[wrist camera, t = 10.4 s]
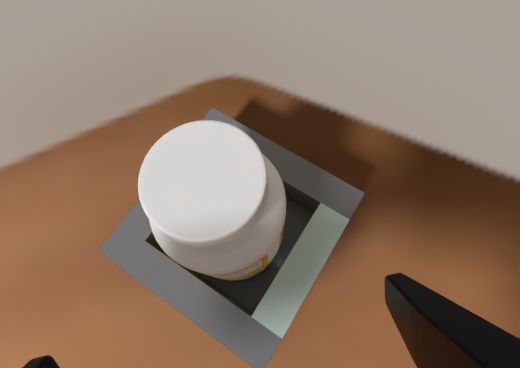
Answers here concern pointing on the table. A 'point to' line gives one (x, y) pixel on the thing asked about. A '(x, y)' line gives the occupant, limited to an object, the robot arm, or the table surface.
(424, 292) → the robot arm
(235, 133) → the supplement bottle
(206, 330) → the dock
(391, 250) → the table surface
